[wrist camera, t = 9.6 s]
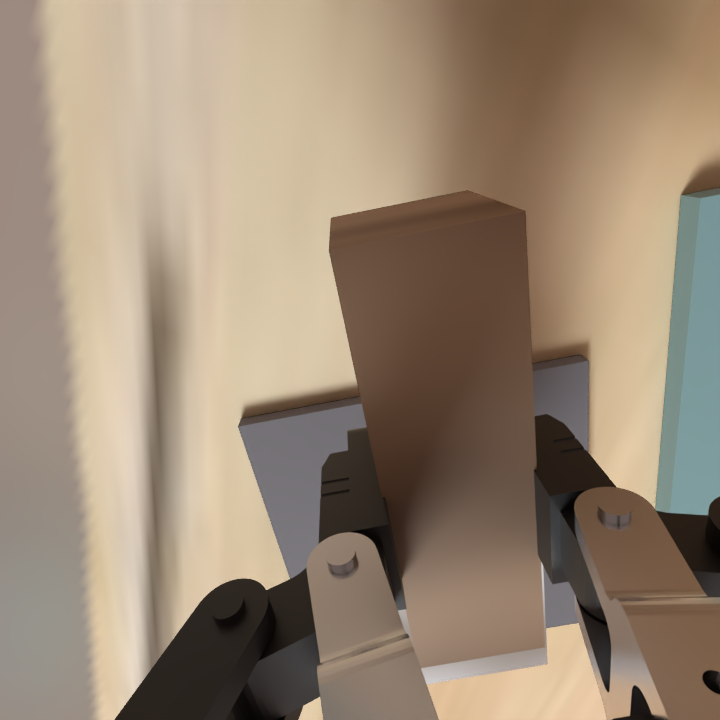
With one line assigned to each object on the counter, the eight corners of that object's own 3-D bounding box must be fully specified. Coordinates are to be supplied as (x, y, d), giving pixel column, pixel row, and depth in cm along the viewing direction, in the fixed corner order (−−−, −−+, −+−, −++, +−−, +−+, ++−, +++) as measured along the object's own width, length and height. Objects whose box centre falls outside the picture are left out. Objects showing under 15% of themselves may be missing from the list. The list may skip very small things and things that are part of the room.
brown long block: (286, 226, 11) (264, 262, 7) (513, 181, 10) (591, 198, 7) (393, 665, 17) (407, 789, 14) (538, 641, 17) (586, 760, 13)
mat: (240, 418, 20) (238, 426, 19) (581, 354, 19) (588, 360, 19) (320, 655, 26) (320, 666, 26) (581, 610, 26) (586, 621, 25)
